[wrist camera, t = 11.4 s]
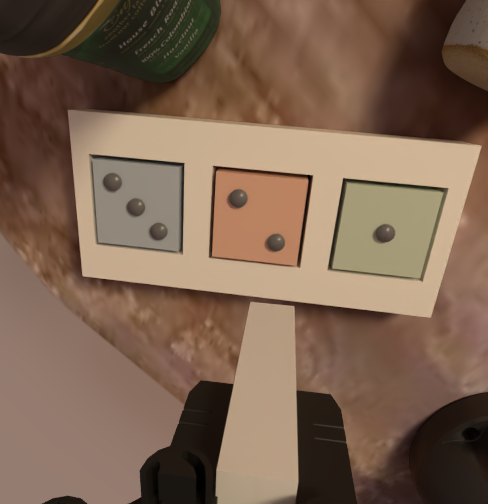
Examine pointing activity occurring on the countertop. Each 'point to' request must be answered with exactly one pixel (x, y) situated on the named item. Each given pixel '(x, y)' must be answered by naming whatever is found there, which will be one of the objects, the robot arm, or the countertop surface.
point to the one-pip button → (384, 227)
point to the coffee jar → (112, 33)
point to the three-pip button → (139, 202)
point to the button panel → (278, 160)
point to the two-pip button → (258, 215)
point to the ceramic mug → (469, 44)
